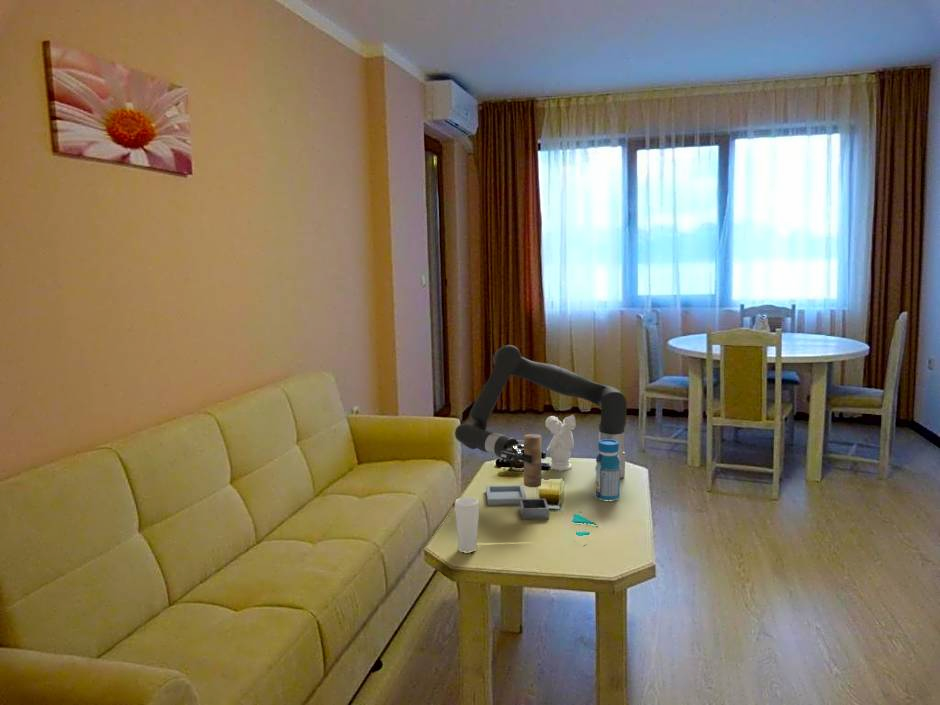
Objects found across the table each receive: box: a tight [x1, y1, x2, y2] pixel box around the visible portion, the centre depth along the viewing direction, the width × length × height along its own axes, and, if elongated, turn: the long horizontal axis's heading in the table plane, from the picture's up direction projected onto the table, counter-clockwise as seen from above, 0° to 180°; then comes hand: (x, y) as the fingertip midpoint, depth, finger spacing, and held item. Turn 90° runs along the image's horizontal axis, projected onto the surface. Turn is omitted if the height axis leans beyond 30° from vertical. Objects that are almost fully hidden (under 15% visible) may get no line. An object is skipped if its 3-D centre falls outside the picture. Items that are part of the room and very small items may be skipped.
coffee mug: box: [509, 439, 524, 468], centre depth 271 cm, size 12×9×10 cm
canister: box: [523, 433, 542, 488], centre depth 224 cm, size 6×6×16 cm
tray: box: [485, 484, 528, 506], centre depth 240 cm, size 13×13×2 cm
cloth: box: [571, 510, 598, 536], centre depth 215 cm, size 26×14×2 cm, turn 161°
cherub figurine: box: [544, 414, 577, 472], centre depth 272 cm, size 12×12×22 cm
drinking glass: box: [454, 496, 480, 552], centre depth 201 cm, size 7×7×15 cm
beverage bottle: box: [595, 439, 621, 502], centre depth 239 cm, size 8×8×20 cm
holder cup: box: [518, 498, 550, 521], centre depth 226 cm, size 9×9×4 cm
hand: (538, 457), depth 222 cm, fingers closed on canister, 5 cm apart
